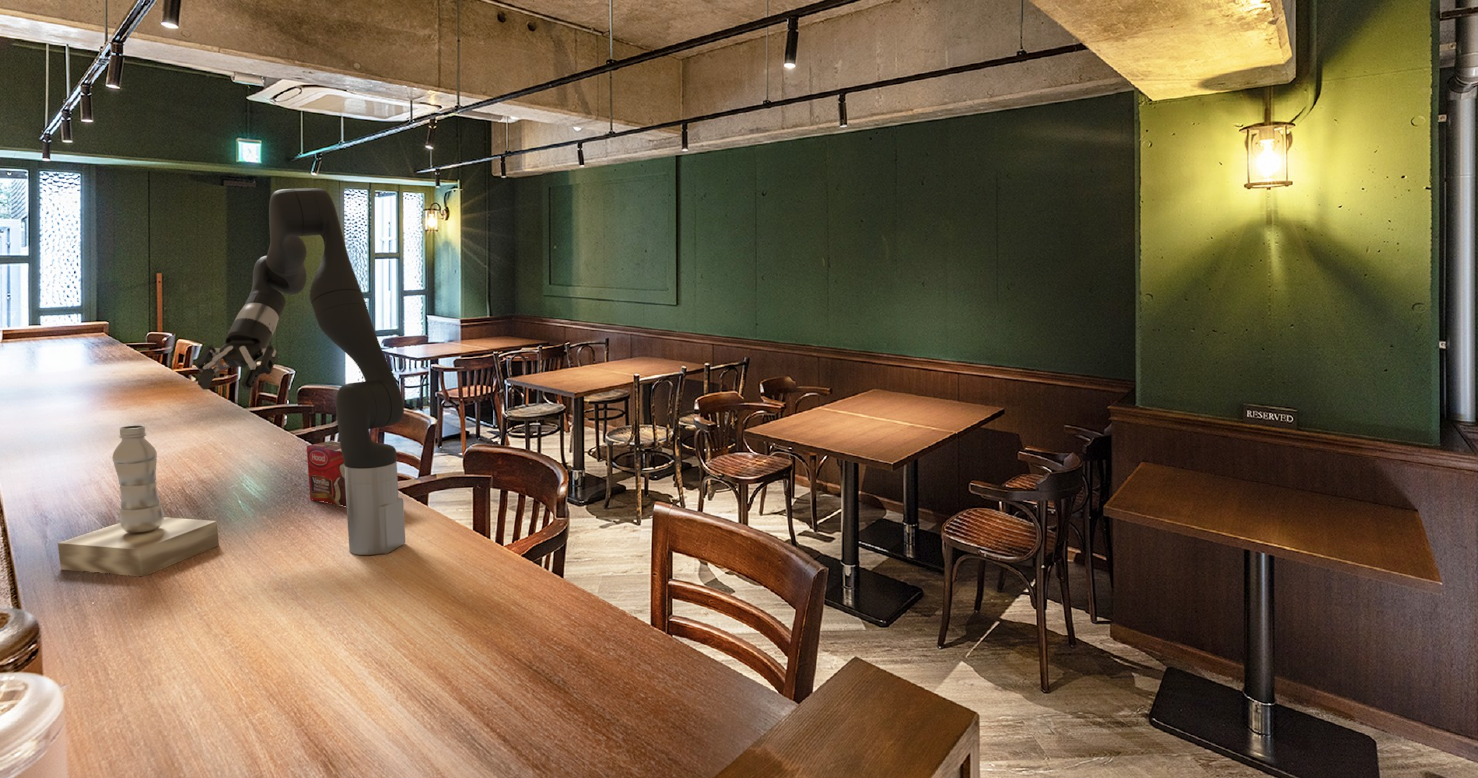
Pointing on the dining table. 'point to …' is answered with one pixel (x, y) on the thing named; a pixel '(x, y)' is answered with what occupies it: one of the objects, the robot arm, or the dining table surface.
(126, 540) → the oak pedestal
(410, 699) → the dining table surface
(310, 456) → the ice cream box
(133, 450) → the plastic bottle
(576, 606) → the dining table surface
